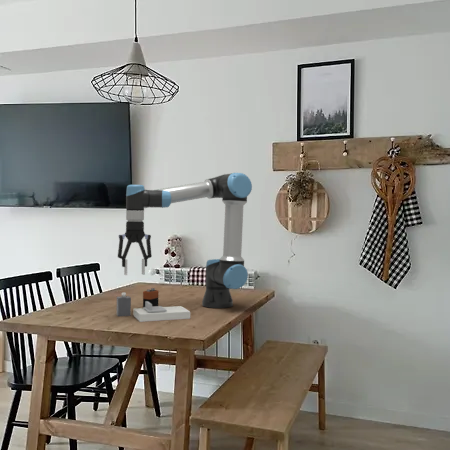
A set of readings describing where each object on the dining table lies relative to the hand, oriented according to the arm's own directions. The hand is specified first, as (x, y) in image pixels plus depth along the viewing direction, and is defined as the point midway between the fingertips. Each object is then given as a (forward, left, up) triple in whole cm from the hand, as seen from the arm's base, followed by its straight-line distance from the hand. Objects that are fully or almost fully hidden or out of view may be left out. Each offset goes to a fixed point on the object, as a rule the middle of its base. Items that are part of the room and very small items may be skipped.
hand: (134, 274), depth 222 cm
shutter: (-9, 0, -16) cm, 18 cm away
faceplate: (-12, 0, -19) cm, 22 cm away
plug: (+3, -9, -19) cm, 21 cm away
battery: (-11, -17, -19) cm, 28 cm away
